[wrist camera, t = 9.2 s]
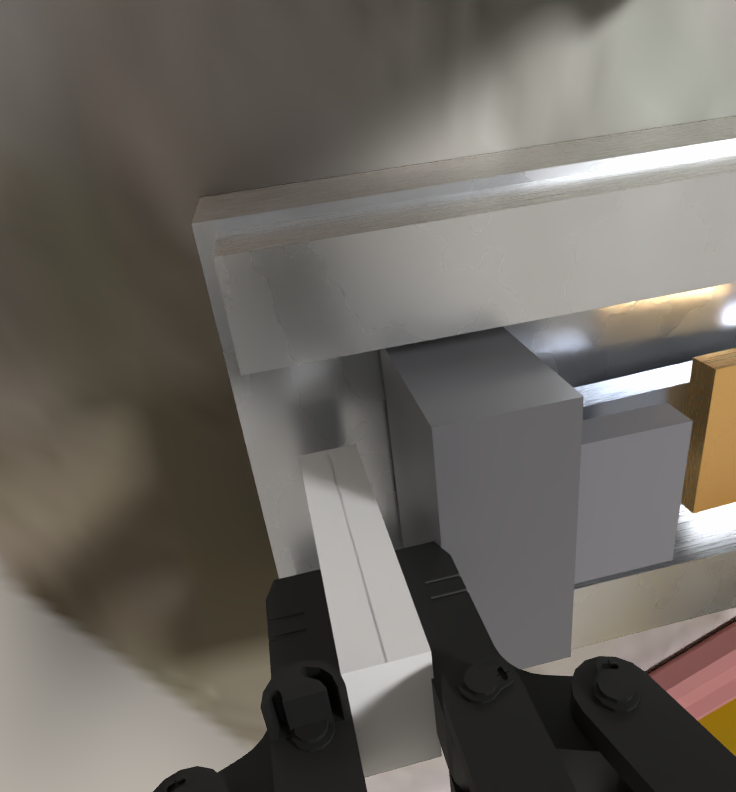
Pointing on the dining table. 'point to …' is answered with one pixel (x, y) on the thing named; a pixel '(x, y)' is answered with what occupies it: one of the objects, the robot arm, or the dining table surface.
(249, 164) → the dining table surface
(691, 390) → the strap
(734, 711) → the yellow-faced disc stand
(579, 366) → the rail slide plate
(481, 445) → the grey slider block
